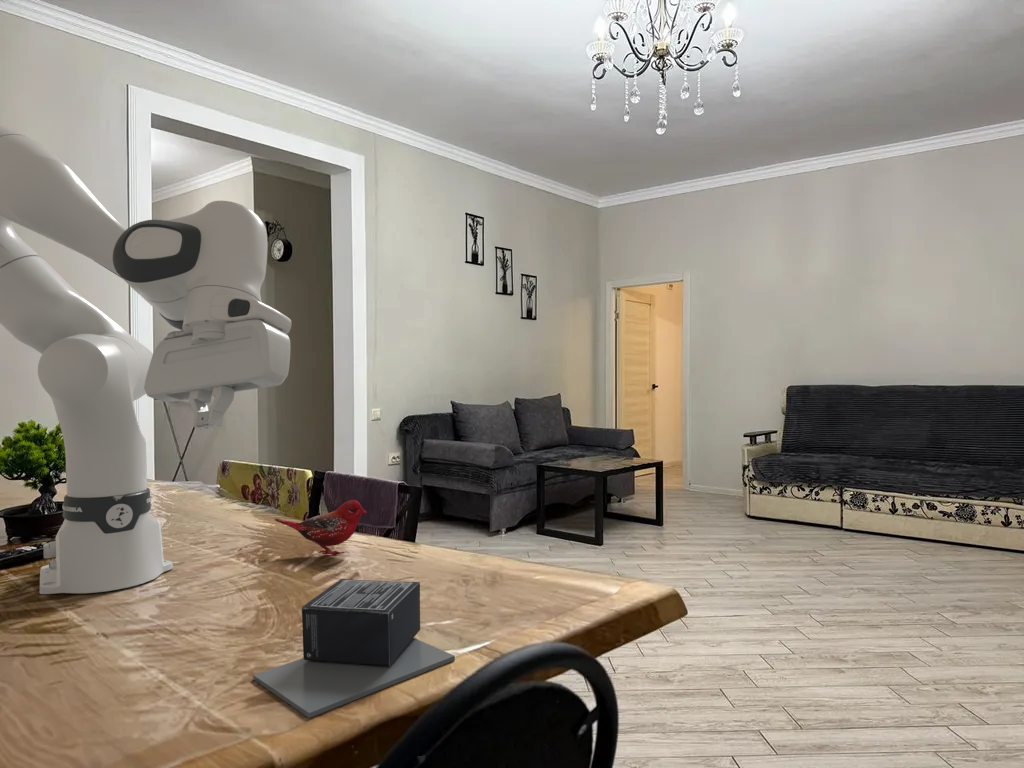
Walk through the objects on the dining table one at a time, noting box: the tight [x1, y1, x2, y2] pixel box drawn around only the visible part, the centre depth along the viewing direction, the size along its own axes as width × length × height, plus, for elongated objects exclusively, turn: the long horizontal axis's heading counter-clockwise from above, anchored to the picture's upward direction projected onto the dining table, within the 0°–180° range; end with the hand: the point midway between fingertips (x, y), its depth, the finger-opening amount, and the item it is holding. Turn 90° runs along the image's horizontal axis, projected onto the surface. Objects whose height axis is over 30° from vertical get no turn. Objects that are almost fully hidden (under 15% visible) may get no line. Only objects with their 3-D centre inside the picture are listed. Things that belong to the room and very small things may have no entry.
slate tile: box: [252, 637, 456, 719], centre depth 76 cm, size 12×18×1 cm, turn 135°
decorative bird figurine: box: [274, 499, 367, 556], centre depth 124 cm, size 3×18×10 cm, turn 80°
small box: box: [301, 578, 421, 666], centre depth 81 cm, size 11×6×10 cm
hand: (207, 427), depth 83 cm, fingers closed
